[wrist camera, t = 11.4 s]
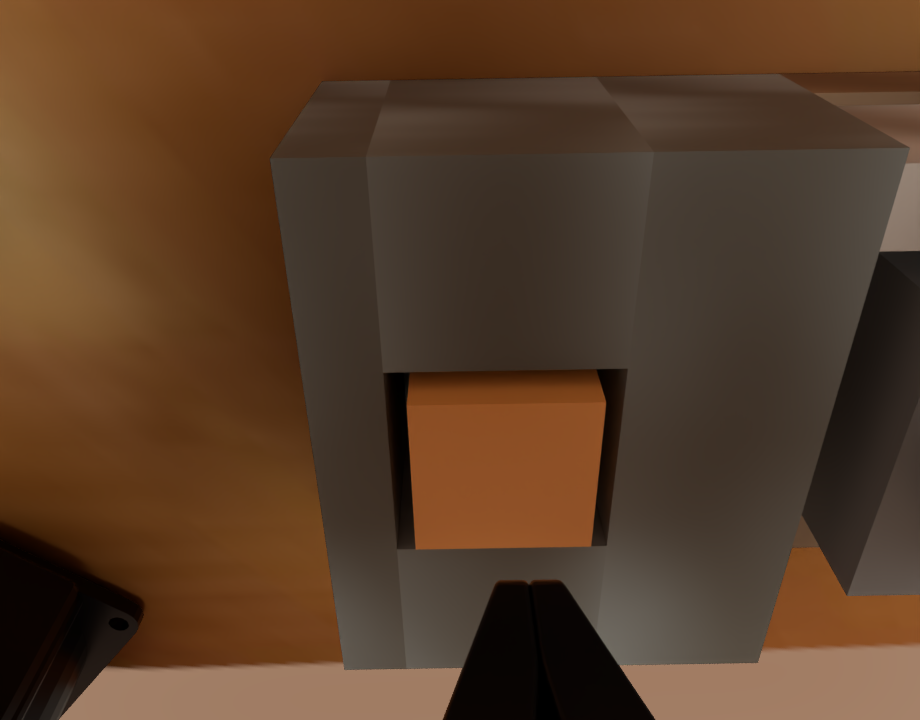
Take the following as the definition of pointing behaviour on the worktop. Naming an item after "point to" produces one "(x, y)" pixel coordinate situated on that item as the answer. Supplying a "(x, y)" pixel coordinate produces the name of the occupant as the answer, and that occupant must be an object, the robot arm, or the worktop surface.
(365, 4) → the worktop surface
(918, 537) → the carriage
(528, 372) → the button
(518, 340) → the rail
